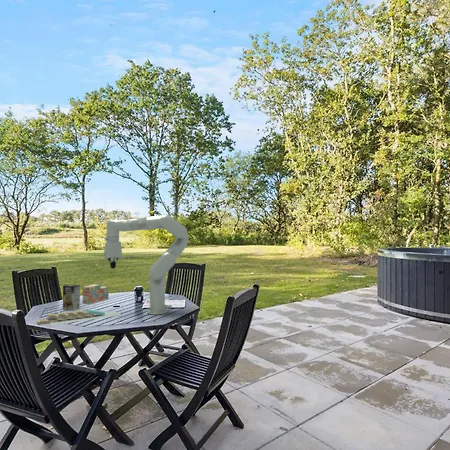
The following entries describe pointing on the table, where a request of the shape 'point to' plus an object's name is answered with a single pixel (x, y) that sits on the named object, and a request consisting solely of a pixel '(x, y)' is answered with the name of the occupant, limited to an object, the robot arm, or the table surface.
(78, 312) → the tile
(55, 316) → the tile
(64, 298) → the coffee box
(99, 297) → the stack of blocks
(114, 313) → the mat
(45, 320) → the tile
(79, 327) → the table surface
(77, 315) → the tile
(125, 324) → the table surface
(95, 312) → the tile
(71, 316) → the tile
